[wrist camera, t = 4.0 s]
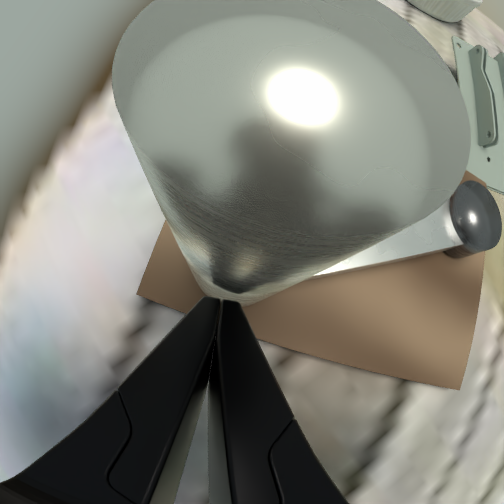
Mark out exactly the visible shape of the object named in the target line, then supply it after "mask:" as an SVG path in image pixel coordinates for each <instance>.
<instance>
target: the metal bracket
mask: <svg viewBox="0 0 504 504" xmlns="http://www.w3.org/2000/svg"><path fill="white" fill-rule="evenodd" d="M452 44H453V50H454V56H455V62H456V70H457V77H458V86H459V89H460V91H461V94H462V96H463V99H464V102H465V105H466V109H467V112H468V116H469V123H470V130H471V148H470V154H469V160H468V165H467V167H466V170H467V171H469V172H470V173H472V174H473V175H475V176H476V177H478V178H479V179H481V180H482V181H484V182H485V183H486V186H487V188H488V189H490V190H493V191H495V192H498V193H500V194H502V195H504V53H502V52H501V53H499V54H498V55H497V56H496V57H494V58H491V57H490V56H488V51H487V49H485V48H483V47H482V46H481V45H476V46H475V47H474V46H472V45H470V44H468V43H467V42H465V41H463V40H461V39H460V38H458V37H456V36H453V37H452ZM457 44H458V45H459V46H460V48H459V47H458V46H457ZM487 158H488V159H489V162H488V160H487Z"/></svg>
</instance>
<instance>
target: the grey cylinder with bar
mask: <svg viewBox="0 0 504 504" xmlns="http://www.w3.org/2000/svg"><path fill="white" fill-rule="evenodd" d="M112 89H113V94H114V98H115V103H116V107H117V109H118V112H119V114H120V117H121V119H122V121H123V124H124V126H125V129H126V131H127V133H128V136H129V138H130V141H131V143H132V145H133V148H134V150H135V152H136V155H137V157H138V159H139V162H140V164H141V166H142V168H143V171H144V173H145V175H146V177H147V180H148V182H149V184H150V186H151V188H152V191H153V193H154V195H155V197H156V199H157V201H158V204H159V206H160V208H161V210H162V212H163V214H164V216H165V219H166V221H167V223H168V225H169V227H170V229H171V231H172V233H173V235H174V237H175V239H176V241H177V243H178V246H179V248H180V250H181V252H182V254H183V256H184V258H185V260H186V262H187V264H188V266H189V268H190V270H191V272H192V274H193V276H194V278H195V279H196V281H197V283H198V285H199V287H200V288H201V290H202V291H203V292H204V293H205V294H206V295H207V296H210V297H216V298H219V299H220V300H221V301H222V300H223V299H227V300H233V301H238V302H239V303H240V304H241V306H242V307H245V306H249V305H252V304H255V303H257V302H259V301H261V300H263V299H266V298H268V297H270V296H272V295H274V294H276V293H278V292H280V291H283V290H285V289H287V288H289V287H291V286H293V285H295V284H297V283H299V282H301V281H305V280H311V279H316V278H321V277H326V276H331V275H336V274H341V273H346V272H351V271H356V270H361V269H366V268H370V267H375V266H380V265H384V264H389V263H394V262H398V261H403V260H407V259H412V258H416V257H421V256H425V255H429V254H434V253H438V252H442V251H445V252H447V253H448V254H449V255H451V256H453V257H455V258H464V257H468V256H471V255H474V254H477V253H480V252H483V251H486V250H489V249H491V248H493V247H495V246H496V245H497V243H498V242H499V240H500V237H501V231H502V222H501V216H500V212H499V209H498V206H497V204H496V202H495V200H494V198H493V196H492V195H491V193H490V192H489V191H488V190H487V189H486V188H485V187H484V186H483V185H482V184H480V183H479V182H476V181H473V180H469V181H465V182H464V183H462V184H460V182H461V180H462V178H463V176H464V173H465V170H466V167H467V165H468V160H469V154H470V148H471V130H470V123H469V116H468V112H467V109H466V105H465V102H464V99H463V96H462V94H461V91H460V89H459V87H458V84H457V82H456V80H455V79H454V77H453V75H452V73H451V71H450V70H449V68H448V67H447V65H446V64H445V62H444V61H443V59H442V58H441V56H440V55H439V54H438V53H437V51H436V50H435V49H434V48H433V46H432V45H431V44H430V43H429V42H428V41H427V40H426V39H425V38H424V37H423V36H422V35H421V34H420V33H419V32H418V31H417V30H416V29H415V28H414V27H413V26H412V25H411V24H409V23H408V22H407V21H406V20H405V19H403V18H402V17H401V16H399V15H398V14H397V13H395V12H394V11H393V10H391V9H390V8H388V7H387V6H385V5H383V4H382V3H380V2H378V1H377V0H154V1H153V2H152V3H151V4H149V5H148V6H147V7H146V8H145V9H143V10H142V11H141V12H140V13H139V15H138V16H137V17H136V18H135V19H134V20H133V21H132V22H131V24H130V25H129V27H128V28H127V30H126V31H125V33H124V34H123V36H122V38H121V40H120V43H119V45H118V48H117V50H116V53H115V57H114V62H113V66H112ZM459 184H460V185H459ZM458 185H459V186H458Z"/></svg>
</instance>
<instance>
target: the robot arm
mask: <svg viewBox="0 0 504 504" xmlns="http://www.w3.org/2000/svg"><path fill="white" fill-rule="evenodd" d="M220 304H221V306H220ZM219 311H220V312H219ZM218 317H219V318H218ZM217 323H218V324H217ZM215 336H216V337H215ZM214 342H215V343H214ZM213 349H214V350H213ZM212 355H213V356H212ZM211 361H212V363H211ZM210 368H211V369H210ZM209 374H210V376H209ZM208 380H209V384H208ZM207 386H208V476H209V504H349V503H348V501H347V500H346V499H345V497H344V496H343V495H342V493H341V492H340V491H339V489H338V488H337V486H336V485H335V484H334V482H333V481H332V480H331V478H330V477H329V475H328V474H327V472H326V471H325V469H324V468H323V466H322V465H321V463H320V462H319V460H318V459H317V457H316V456H315V454H314V452H313V450H312V449H311V447H310V445H309V443H308V441H307V440H306V438H305V436H304V434H303V432H302V430H301V428H300V426H299V424H298V422H297V420H296V419H294V415H293V413H292V411H291V409H290V407H289V405H288V403H287V401H286V398H285V396H284V394H283V392H282V390H281V388H280V386H279V384H278V382H277V380H276V378H275V376H274V374H273V372H272V370H271V368H270V366H269V364H268V361H267V359H266V357H265V355H264V353H263V351H262V349H261V347H260V345H259V343H258V341H257V338H256V336H255V334H254V332H253V330H252V328H251V326H250V324H249V321H248V319H247V317H246V315H245V313H244V311H243V308H242V306H241V304H240V303H239V302H238V301H233V300H227V299H223V300H222V301H221V300H220V299H219V298H216V297H210V296H203V297H202V298H201V299H200V300H199V301H198V302H197V303H196V304H195V305H194V307H193V308H192V309H191V310H190V311H189V312H188V313H187V314H186V315H185V316H184V317H183V318H182V319H181V320H180V321H179V322H178V324H177V325H176V326H175V327H174V328H173V329H172V330H171V331H170V332H169V333H168V334H167V335H166V336H165V337H164V338H163V340H162V341H161V342H160V343H159V344H158V345H157V346H156V347H155V348H154V349H153V350H152V351H151V352H150V353H149V354H148V356H147V357H146V358H145V359H144V360H143V361H142V362H141V363H140V364H139V365H138V366H137V367H136V368H135V369H134V370H133V372H132V373H131V374H130V375H129V376H128V377H127V378H126V379H125V380H124V381H123V382H122V383H121V384H120V385H119V387H118V388H117V389H118V391H117V390H115V391H114V392H113V393H112V394H111V395H110V396H109V397H108V398H107V399H106V400H105V401H104V402H103V403H102V404H101V405H100V406H99V407H98V408H97V409H96V410H95V411H94V412H93V413H92V414H91V415H90V416H89V417H88V418H87V419H86V420H85V421H84V422H83V423H82V424H80V425H79V426H78V427H77V428H76V429H75V430H73V431H72V432H71V433H70V434H69V435H68V436H66V437H65V438H64V439H63V440H61V441H60V442H59V443H58V444H56V445H55V446H54V447H53V448H51V449H50V450H49V451H48V452H46V453H45V454H44V455H43V456H41V457H40V458H39V459H38V460H36V461H35V462H34V463H33V464H31V465H30V466H29V467H27V468H26V469H25V470H23V471H22V472H21V473H19V474H17V475H16V476H14V477H12V478H10V479H8V480H6V481H3V482H1V483H0V504H174V500H175V497H176V493H177V490H178V487H179V483H180V480H181V476H182V473H183V469H184V466H185V462H186V459H187V455H188V452H189V449H190V445H191V442H192V438H193V435H194V431H195V428H196V424H197V421H198V418H199V414H200V411H201V407H202V404H203V401H204V397H205V394H206V390H207Z"/></svg>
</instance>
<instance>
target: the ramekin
mask: <svg viewBox="0 0 504 504" xmlns="http://www.w3.org/2000/svg"><path fill="white" fill-rule="evenodd" d="M407 1H408V2H410V3H411V4H412V5H414V6H415V7H417V8H418V9H420V10H422V11H423V12H425V13H427V14H428V15H430V16H432V17H434V18H437V19H439V20H442V21H445V22H458V21H460V20H461V19H462V18H464V17H465V16H466V15H467V14H468V13H470V12H471V11H472V10H473V9H474V8H475V7H479V6H480V5H481V3H482V1H483V0H407Z"/></svg>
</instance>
